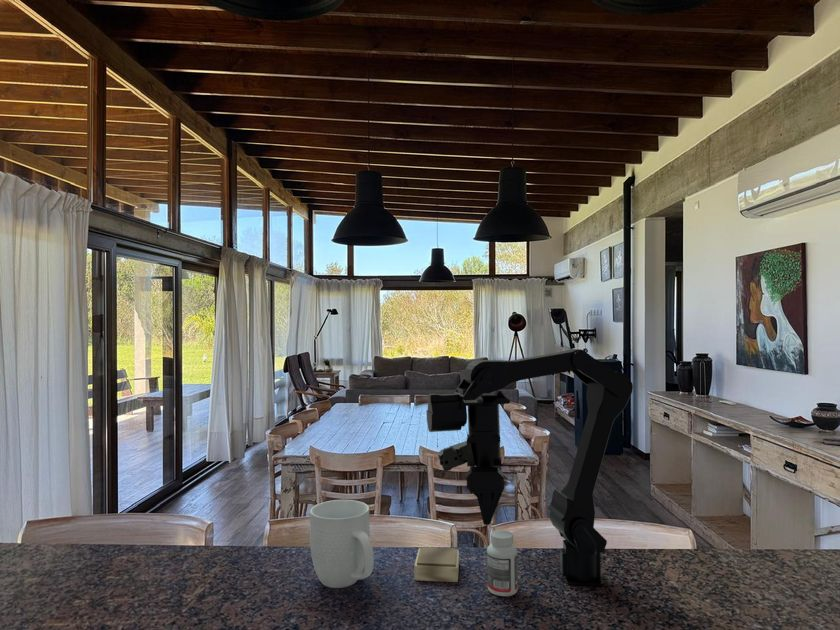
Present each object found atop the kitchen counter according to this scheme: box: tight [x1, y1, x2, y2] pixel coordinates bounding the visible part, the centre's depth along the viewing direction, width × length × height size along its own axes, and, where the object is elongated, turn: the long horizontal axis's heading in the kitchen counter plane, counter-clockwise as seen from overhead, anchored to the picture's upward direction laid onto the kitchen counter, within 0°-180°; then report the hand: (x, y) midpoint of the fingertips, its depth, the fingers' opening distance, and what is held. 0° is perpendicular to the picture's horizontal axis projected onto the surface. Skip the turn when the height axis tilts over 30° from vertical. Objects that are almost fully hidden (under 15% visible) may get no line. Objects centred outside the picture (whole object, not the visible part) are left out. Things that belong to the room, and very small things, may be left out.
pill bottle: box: [486, 529, 519, 597], centre depth 91 cm, size 5×5×10 cm
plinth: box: [413, 546, 460, 583], centre depth 98 cm, size 8×8×3 cm
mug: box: [309, 499, 375, 589], centre depth 94 cm, size 15×11×13 cm
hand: (486, 515), depth 93 cm, fingers open, 9 cm apart
